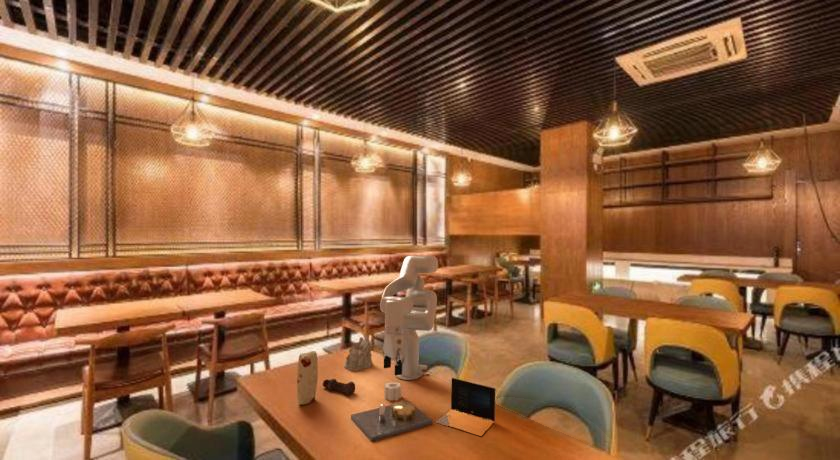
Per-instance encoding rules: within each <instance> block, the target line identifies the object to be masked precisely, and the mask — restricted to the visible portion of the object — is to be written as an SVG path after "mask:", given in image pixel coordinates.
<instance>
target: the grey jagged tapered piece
mask: <svg viewBox="0 0 840 460" xmlns="http://www.w3.org/2000/svg"><path fill="white" fill-rule="evenodd" d="M358 340H359V341H358V342H354V343H353V344H352V347H350V348H349V350H348V351H349V354H348V355H347V356H346V358H345V360H346V361H345V364H344V365H343V368H344V369H345V370H348V371H351V372H352V371H359V370H366V369H367V368H369V367H371V366H373V361H372V352H371V351H372V348H373V347H372V345H371V343H370V336H369V335H367V336H366V337H365V339H364V338H363V337H362V336H361V337H359V339H358Z"/></svg>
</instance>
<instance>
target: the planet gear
mask: <svg viewBox="0 0 840 460" xmlns="http://www.w3.org/2000/svg"><path fill="white" fill-rule="evenodd" d="M383 387H384V390H383V393H384V394H383V397H384V400H386V401H387V400H388V401H389V402H392V401H395V402H398V400H401V399H402V384H401V383H399V382H396V381H394V382H387V383H385V384H384V386H383Z"/></svg>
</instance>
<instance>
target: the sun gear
mask: <svg viewBox="0 0 840 460" xmlns="http://www.w3.org/2000/svg"><path fill="white" fill-rule="evenodd" d="M406 401H407V400H406ZM406 401H405V400H401V401H395V402H393V403H392V405H393V406H391V416H392V415H393V416H394V417H395V419H403V420H407V419H409V418H414V414H416V408H417V405H416V404H414V403H413V402H412V401H409V402H406Z"/></svg>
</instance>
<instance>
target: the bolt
mask: <svg viewBox="0 0 840 460" xmlns="http://www.w3.org/2000/svg"><path fill="white" fill-rule="evenodd" d="M322 386H323V387H324V388H327V389H328V390H329V391H331V392H333V391H340V392H343V393H345V396H347V397H351V396H352V395H354V393H355V391H356V384H355V382H353V381H349V382H347V383H344V382H339V381H338V380H337V379H336V378H331V379H325V380H323V382H322Z"/></svg>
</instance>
